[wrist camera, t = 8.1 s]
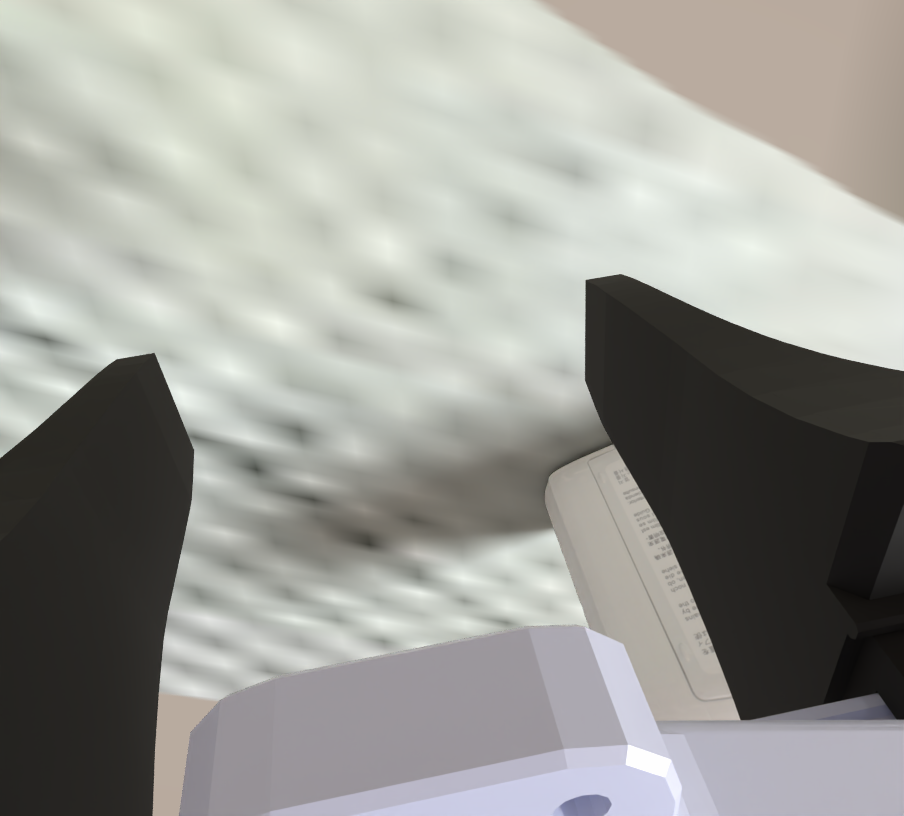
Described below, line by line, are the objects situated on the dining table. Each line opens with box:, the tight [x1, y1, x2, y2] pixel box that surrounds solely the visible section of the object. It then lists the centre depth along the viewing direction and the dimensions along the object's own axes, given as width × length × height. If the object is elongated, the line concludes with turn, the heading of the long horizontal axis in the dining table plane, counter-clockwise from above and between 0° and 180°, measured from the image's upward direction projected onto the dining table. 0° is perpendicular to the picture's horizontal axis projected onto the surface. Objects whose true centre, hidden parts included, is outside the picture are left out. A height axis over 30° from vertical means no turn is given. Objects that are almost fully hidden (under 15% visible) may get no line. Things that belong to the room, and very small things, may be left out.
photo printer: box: [545, 444, 740, 721], centre depth 24 cm, size 10×4×12 cm, turn 112°
